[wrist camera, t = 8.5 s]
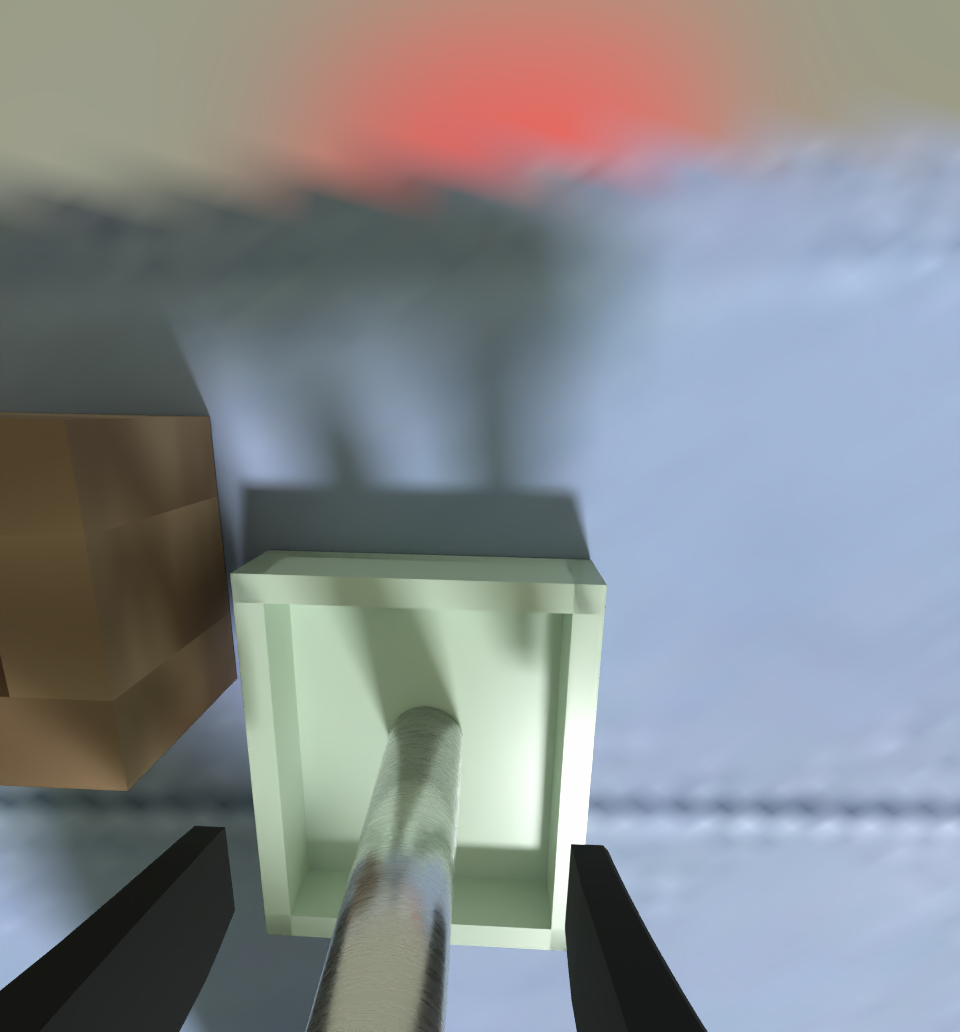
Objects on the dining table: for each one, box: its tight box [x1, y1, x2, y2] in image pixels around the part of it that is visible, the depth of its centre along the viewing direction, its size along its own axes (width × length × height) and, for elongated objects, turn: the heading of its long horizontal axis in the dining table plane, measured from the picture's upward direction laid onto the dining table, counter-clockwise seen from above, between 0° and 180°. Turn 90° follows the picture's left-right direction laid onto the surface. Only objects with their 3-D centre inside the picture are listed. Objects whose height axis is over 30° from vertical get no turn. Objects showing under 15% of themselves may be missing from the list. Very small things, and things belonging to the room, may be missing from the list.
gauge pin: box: [305, 707, 463, 1032], centre depth 9 cm, size 2×2×8 cm
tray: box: [230, 550, 607, 951], centre depth 12 cm, size 10×8×2 cm
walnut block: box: [0, 412, 237, 791], centre depth 11 cm, size 7×7×4 cm
